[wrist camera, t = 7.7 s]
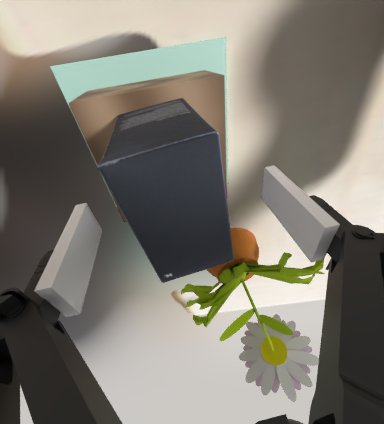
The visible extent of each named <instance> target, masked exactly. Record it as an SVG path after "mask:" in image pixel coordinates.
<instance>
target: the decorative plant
mask: <svg viewBox="0 0 384 424" xmlns="http://www.w3.org/2000/svg"><path fill="white" fill-rule="evenodd" d="M230 232H231V240H232V247H233V255H234V260H233V261H231V262H227V263H224V264H221V265H218V266H215V267H212V268H208V269H207V271H209V272H210V273H211V274H212V275H213V276H215V277H217V279H218V280H219V282H218V283H217V284H216V285H214V286H193V285H191V284H187V285H186V286H185V288H184V289H182V291H181V294H182V293H185V292H194V293H195V294H196V295H197V296H198V297H199V298H198V299H196V300H194V301H192V300H190V301H189V302H188V303H187V306H188V307H190V306H191V305H193V304H195V303H198V304H200V305H201V307H200V309H204V308H207V307H209V306H212V307H211V309H210V311H209V312H208V314H207V316H205V317H199V316H195V315H193V320H194V321H195V323H196V324H197V325H200V324H202V323H203V324H204V326H206V327H207V325H208V324H209V323H210V321H211V320H212V319H213V317H214V316H215V314H216V313H217V312H218V310H219V309H220V308H221V306H222V305H223V304H224V302H225V301H226V300H227V298H228V297H229V295H230V294H231V293H232V291H233V290H234V289H235V288H236V287H237V286H238V285H239V284H240V283H241V282H242V284H243V286H244V288H245V291H246V293H247V295H248V297H249V300H250V302H251V304H252V307H253V309H251V310H249V311H247V312H246V313H244V314H243V315H241V316H240V317H239V318H238V319H237V320H235V321H234V322H233V323H232V324H231V325H230V326H229V327H228V328H227V329H226V330H225V332H224V333H223V334H222V336H221V337H220V341H223V340H225V339H227V338H229V337H230V336H232V335H233V334H234V333H236V332H237V331H238V330H239V329H240V328H241V327H242V326H243V325H245V324H246V326H247V328H248V329H249V331H246V332H245V335H246V336H245V337H242V338H241V342H242V343H243V344H245V346H244V348H243V349H244V352H242V353H241V354H240V356H239V358H240V360H242V361H247V362H246V364H245V365H246V367H249V368H250V369H249V370H248V372H247V375H246V382H248V383H251V382H253V381H255V380H256V385H257V386H261V390H262V393H263V395H267V394H268V393H269V392H270V390H271V389H272V391H273V392H275V393H276V392H277V391H278V388H279V384H280V383H281V386H282V388H283V390H284V392H285V393H286V395H287V396H288V398H289V399H290V400H291V401H293V402H295V401H296V391H295V389H297V390H300V389H301V385H300V383H302V384H303V385H305V386H307V387H311V386H312V382H311V380H310V378H309V376H308V375H307V374H306V373H310V369H309V367H308V366H307V365H318V364H319V358H317V357H316V356H314V355H312V354H310V352H311V351H312V348H311V347H309V346H307V345H308V344H309V343H310V338H309V337H306V336H300V332H299V331H295V322H294V321H290V322H288V323H287V324H286V323H285V321H281V319H280V317H279V316H278V315H277V314H276V315H274V317H273V318H271V317H268V316H265V315H259V314H258V312H257V310H256V307H255V305H254V303H253V300H252V298H251V296H250V294H249V291H248V289H247V287H246V285H245V283H244V281H246V280H248V279H249V278H251V277H252V276H253V275H254V274H255V275H259V276H263V277H267V278H271V279H275V280H280V281H284V282H288V283H303V284H309V283H310V282H311V280H312V279H313V277H314V276H315V273H319V274H324V273H322V272H320V271H319V270H320V269H322V268H323V262H324V259H323V260H319V261H316V263H315V265H314V266H310V267H307V268H303V269H296V268H286V267H284V266H285V264H286V262H287V260H288V258H290V257H291V256H292V255H291V254H290V253H285V252H284V254H283V256H282V257H281V259H280V261H279V264H278V265H270V266H266V265H258V262H257V261H258V257H259V248H258V245H257V242H256V239H255V236H254V235H253V234H252V233H251V232H250V231H248V230H246V229H242V228H230ZM313 273H314V274H313ZM311 274H313V276H312V277H309V278H306V279H300V278H297V277H299V276H305V275H311ZM220 283H223V285H221V286H220V287H219V288H218V289H217V290H216V291H215V292H213V293H210V292H211V291H212V290H213V289H214V288H215V287H217V286H218V285H219V284H220ZM209 293H210V294H209ZM187 306H186V307H187ZM254 312H255V314H256V316H257V318H258V323H259V324H258V323H252V322H247V321H248V320H249V319H250V318H251V317H252V315H253V314H254ZM246 322H247V323H246Z"/></svg>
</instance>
